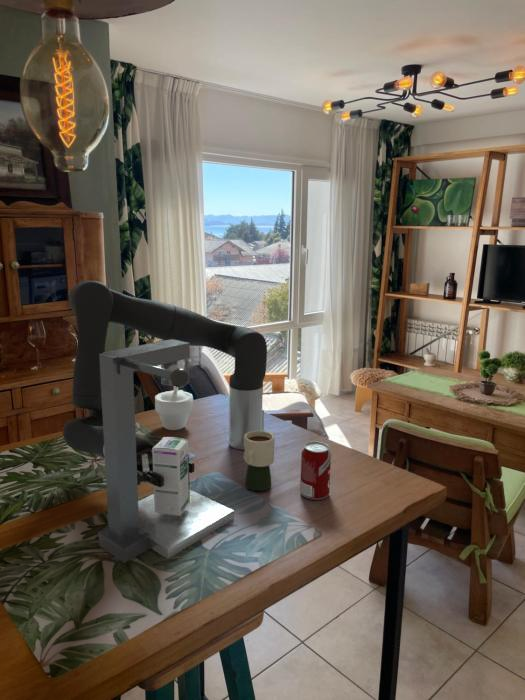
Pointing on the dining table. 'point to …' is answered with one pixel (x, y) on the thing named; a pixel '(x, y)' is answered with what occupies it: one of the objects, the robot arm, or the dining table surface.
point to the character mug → (258, 459)
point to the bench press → (121, 464)
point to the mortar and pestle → (174, 406)
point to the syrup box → (172, 475)
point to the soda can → (315, 471)
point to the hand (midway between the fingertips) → (178, 475)
